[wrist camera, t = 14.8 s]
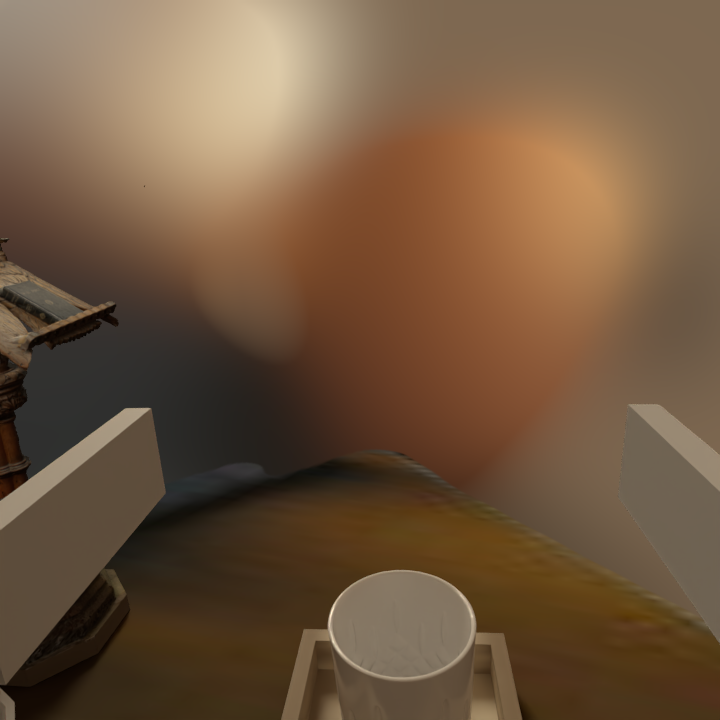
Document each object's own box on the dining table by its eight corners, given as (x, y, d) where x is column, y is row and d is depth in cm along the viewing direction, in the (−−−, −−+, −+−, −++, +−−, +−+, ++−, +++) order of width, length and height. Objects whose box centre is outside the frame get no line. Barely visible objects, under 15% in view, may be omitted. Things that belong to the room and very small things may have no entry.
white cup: (478, 845, 27) (478, 689, 24) (327, 821, 28) (311, 672, 25) (474, 705, 34) (474, 573, 31) (354, 692, 36) (344, 565, 33)
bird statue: (208, 569, 50) (144, 184, 41) (142, 690, 38) (28, 175, 28) (46, 569, 52) (-52, 198, 42) (-68, 683, 40) (-244, 196, 30)
